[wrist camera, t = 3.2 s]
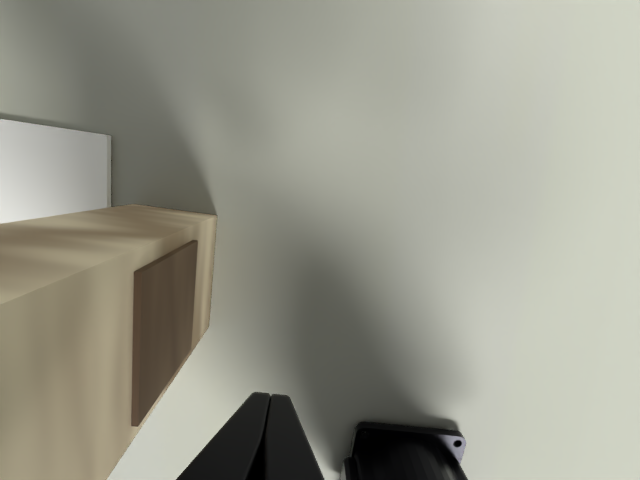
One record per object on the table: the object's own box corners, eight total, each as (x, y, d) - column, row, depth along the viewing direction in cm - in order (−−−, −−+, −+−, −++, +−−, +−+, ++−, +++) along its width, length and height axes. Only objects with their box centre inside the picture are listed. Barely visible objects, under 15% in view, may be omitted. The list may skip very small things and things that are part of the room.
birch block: (221, 215, 14) (-36, 328, 4) (212, 327, 16) (0, 657, 5) (133, 203, 14) (-426, 286, 3) (131, 317, 15) (-287, 648, 5)
